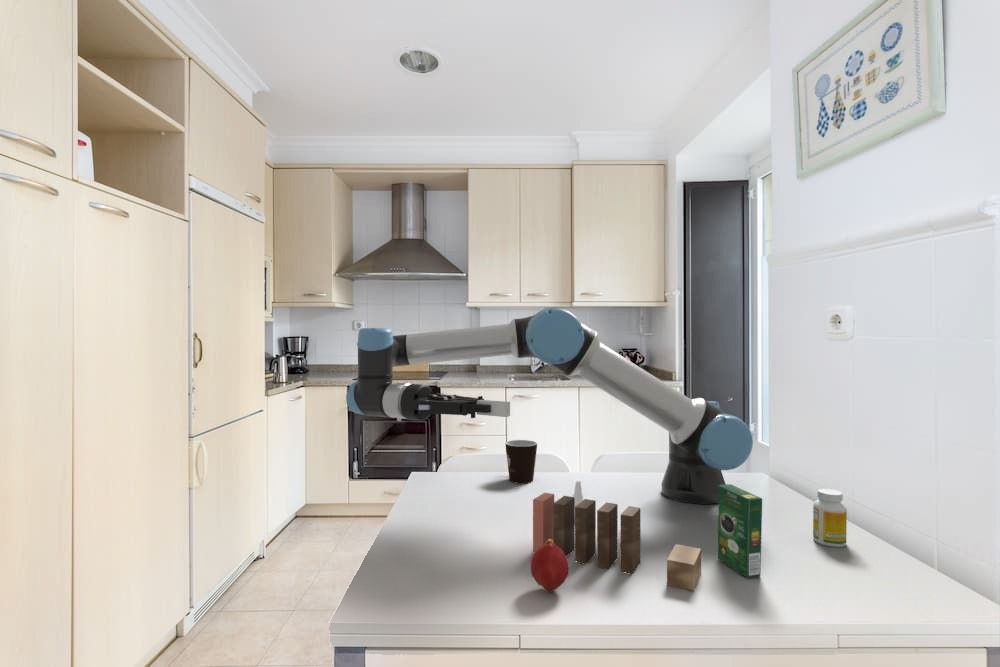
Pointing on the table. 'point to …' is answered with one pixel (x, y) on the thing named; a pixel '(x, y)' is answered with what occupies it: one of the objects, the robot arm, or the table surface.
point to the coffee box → (740, 530)
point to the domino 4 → (607, 535)
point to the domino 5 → (630, 539)
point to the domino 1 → (542, 519)
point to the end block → (684, 567)
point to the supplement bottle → (829, 518)
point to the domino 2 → (564, 524)
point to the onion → (549, 566)
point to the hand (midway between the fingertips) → (508, 409)
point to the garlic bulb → (578, 493)
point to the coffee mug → (521, 460)
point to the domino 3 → (585, 530)
